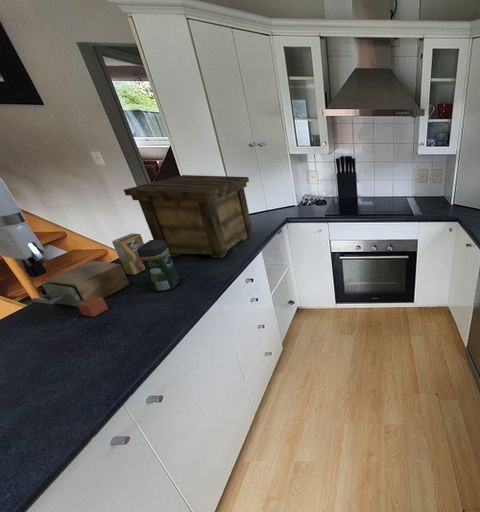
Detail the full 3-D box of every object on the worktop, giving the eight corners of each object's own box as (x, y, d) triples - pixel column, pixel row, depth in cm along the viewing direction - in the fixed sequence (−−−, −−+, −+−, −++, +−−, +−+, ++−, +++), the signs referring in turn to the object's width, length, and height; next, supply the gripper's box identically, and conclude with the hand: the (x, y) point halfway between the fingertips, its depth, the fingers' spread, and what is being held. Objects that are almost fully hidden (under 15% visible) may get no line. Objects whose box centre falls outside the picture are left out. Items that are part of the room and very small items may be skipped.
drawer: (61, 315, 89) (50, 297, 86) (34, 311, 90) (22, 293, 87) (120, 286, 105) (112, 269, 102) (96, 282, 107) (87, 266, 103)
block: (93, 316, 90) (87, 305, 88) (82, 314, 91) (76, 304, 89) (108, 308, 94) (102, 297, 92) (97, 306, 95) (91, 296, 93)
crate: (225, 262, 126) (206, 192, 111) (151, 260, 126) (123, 189, 112) (259, 234, 157) (248, 177, 142) (200, 232, 158) (183, 175, 143)
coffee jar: (160, 280, 111) (144, 238, 103) (183, 278, 113) (168, 236, 105) (149, 293, 103) (130, 249, 94) (173, 290, 105) (156, 247, 96)
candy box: (144, 264, 122) (131, 233, 116) (153, 265, 122) (140, 233, 115) (125, 274, 114) (110, 241, 108) (135, 275, 114) (120, 241, 107)
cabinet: (87, 306, 95) (75, 284, 91) (58, 301, 97) (45, 279, 93) (129, 284, 108) (120, 264, 104) (103, 280, 110) (93, 260, 106)
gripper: (-35, 222, 76) (4, 278, 84) (6, 226, 74) (42, 283, 82) (3, 214, 83) (36, 267, 91) (41, 218, 81) (72, 271, 89)
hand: (39, 274), depth 87 cm, fingers closed
